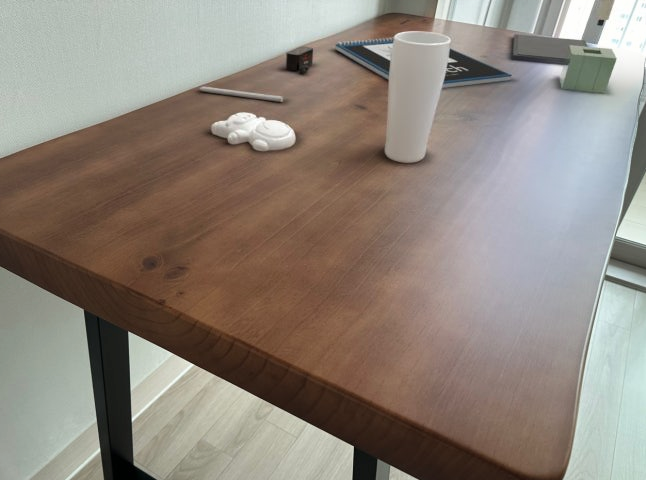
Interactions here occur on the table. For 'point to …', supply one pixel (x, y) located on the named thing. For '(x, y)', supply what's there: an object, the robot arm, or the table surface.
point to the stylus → (604, 11)
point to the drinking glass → (414, 92)
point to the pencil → (242, 94)
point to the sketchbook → (457, 73)
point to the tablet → (542, 48)
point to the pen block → (587, 68)
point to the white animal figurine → (255, 132)
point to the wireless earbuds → (299, 59)
